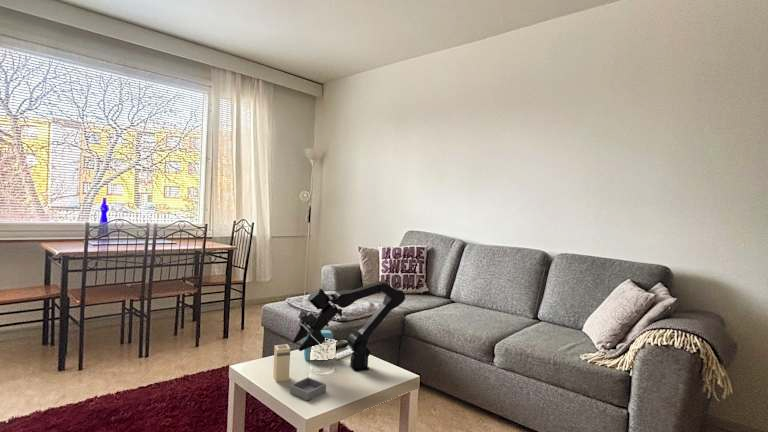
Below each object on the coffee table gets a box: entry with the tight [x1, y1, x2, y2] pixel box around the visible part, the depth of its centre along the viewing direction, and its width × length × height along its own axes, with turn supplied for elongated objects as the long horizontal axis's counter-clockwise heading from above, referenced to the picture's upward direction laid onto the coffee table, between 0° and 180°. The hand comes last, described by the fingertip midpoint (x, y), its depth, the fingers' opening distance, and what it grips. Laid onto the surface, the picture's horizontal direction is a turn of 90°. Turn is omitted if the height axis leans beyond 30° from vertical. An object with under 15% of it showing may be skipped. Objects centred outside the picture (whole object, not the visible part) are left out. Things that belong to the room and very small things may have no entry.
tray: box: [289, 377, 327, 402], centre depth 156 cm, size 9×9×3 cm
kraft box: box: [272, 343, 291, 383], centre depth 166 cm, size 5×5×13 cm
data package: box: [303, 329, 334, 362], centre depth 189 cm, size 12×4×12 cm, turn 105°
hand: (296, 346), depth 168 cm, fingers open, 9 cm apart
